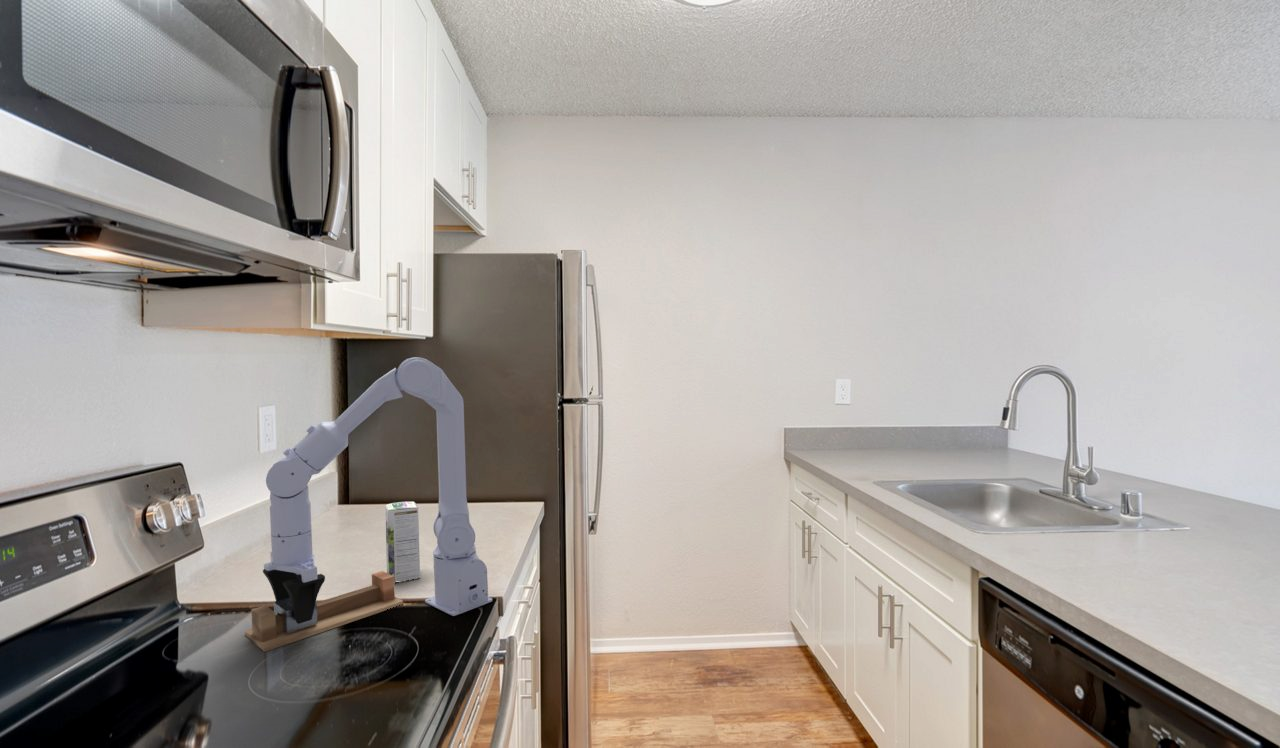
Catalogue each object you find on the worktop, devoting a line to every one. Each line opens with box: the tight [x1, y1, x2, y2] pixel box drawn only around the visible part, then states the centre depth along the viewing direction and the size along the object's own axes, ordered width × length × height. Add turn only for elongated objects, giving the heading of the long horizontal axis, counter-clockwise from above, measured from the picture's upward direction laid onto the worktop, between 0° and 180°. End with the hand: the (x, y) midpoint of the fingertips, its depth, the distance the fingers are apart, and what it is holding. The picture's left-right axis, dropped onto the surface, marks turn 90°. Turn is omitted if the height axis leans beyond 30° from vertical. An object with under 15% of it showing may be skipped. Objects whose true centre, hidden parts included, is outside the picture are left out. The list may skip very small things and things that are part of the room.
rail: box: [244, 570, 404, 653], centre depth 104 cm, size 9×22×5 cm, turn 139°
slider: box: [273, 597, 318, 634], centre depth 100 cm, size 6×4×4 cm
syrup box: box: [385, 501, 421, 582], centre depth 122 cm, size 6×6×14 cm
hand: (295, 614), depth 100 cm, fingers open, 7 cm apart
